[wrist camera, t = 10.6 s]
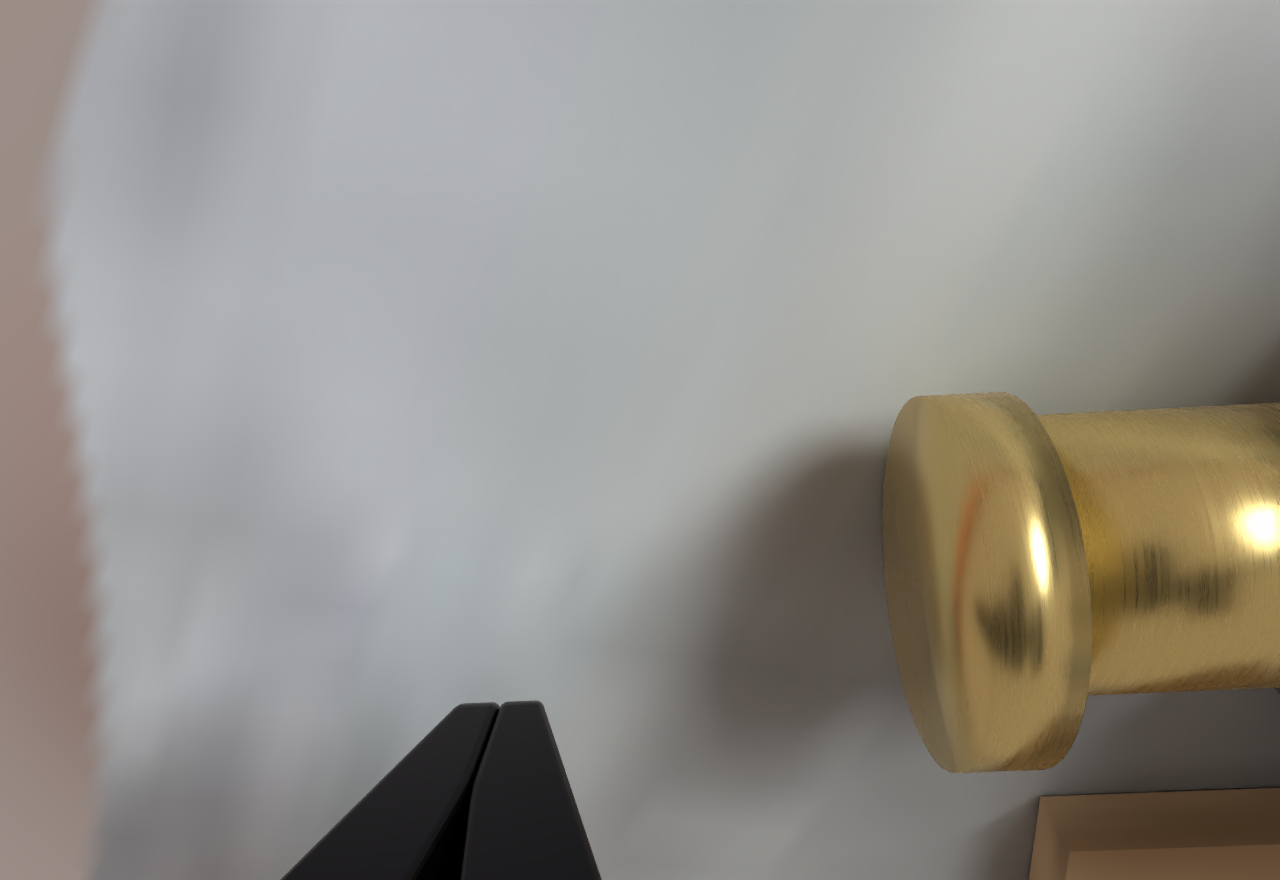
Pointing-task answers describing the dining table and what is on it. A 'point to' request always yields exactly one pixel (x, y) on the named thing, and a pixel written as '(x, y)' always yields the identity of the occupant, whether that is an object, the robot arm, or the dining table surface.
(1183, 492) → the brass bolt
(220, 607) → the dining table surface
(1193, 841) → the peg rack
